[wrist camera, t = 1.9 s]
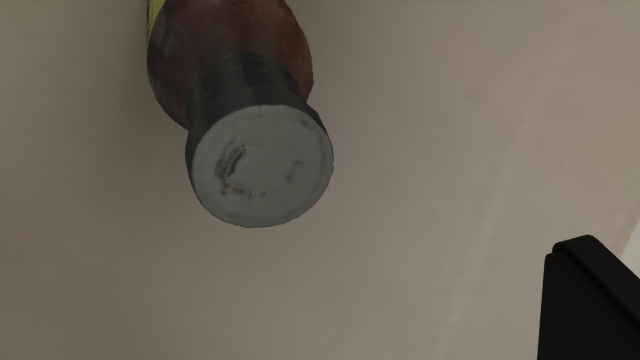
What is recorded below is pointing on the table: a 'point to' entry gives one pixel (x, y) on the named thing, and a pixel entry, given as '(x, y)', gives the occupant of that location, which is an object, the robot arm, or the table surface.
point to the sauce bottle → (241, 106)
